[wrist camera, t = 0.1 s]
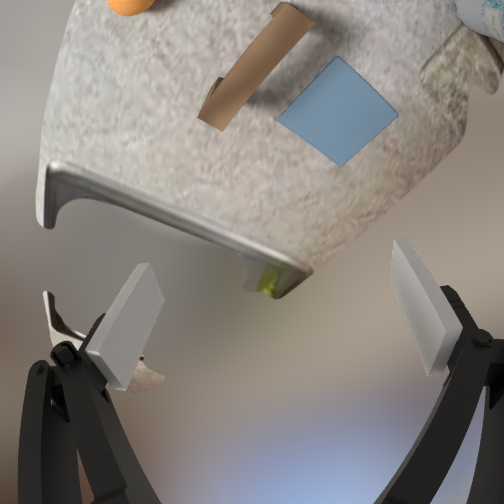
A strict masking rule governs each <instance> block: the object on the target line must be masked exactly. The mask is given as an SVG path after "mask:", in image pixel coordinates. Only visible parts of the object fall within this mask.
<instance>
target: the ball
mask: <svg viewBox="0 0 504 504" xmlns="http://www.w3.org/2000/svg"><path fill="white" fill-rule="evenodd" d="M154 1H155V0H108V3H109V6H110V8H111V9H112V10H113V11H114V12H116V13H117V14H120V15H124V16H133V15H137V14H140V13H142V12H144V11H145V10H147V9H148V8H149V7H150V6H151V5H152V4H153V3H154Z"/></svg>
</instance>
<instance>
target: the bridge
mask: <svg viewBox="0 0 504 504" xmlns="http://www.w3.org/2000/svg"><path fill="white" fill-rule="evenodd" d="M271 15H272V17H273V19H272V20H271V21H270V22H269V23H268V25H267V26H266V27H265V28H264V29H263V30H262V32H261V33H260V34H259V35H258V36H257V37H256V39H255V40H254V41H253V42H252V43H251V45H250V46H249V47H248V48H247V50H246V51H245V52H244V53H243V55H242V56H241V57H240V58H239V60H238V61H237V62H236V63H235V65H234V66H233V67H232V69H231V70H230V71H229V73H228V74H227V75H226V76H225V78H224V79H221V78H218V79H217V80H216V82H215V83H214V84H213V86H212V87H211V89H210V91H209V93H208V95H207V97H206V99H205V101H204V104H203V106H202V108H201V110H200V113H199V115H198V117H197V118H199V119H201V120H203V121H204V122H206V123H208V124H210V125H211V126H213V127H215V128H217V129H218V130H220V131H222V132H223V131H224V129H225V128H226V127H227V125H228V124H229V123H230V121H231V120H232V119H233V118H234V116H235V115H236V114H237V112H238V111H239V110H240V109H241V107H242V106H243V105H244V104H245V102H246V101H247V100H248V99H249V98H250V96H251V95H252V94H253V93H254V91H255V90H256V89H257V88H258V87H259V85H260V84H261V83H262V82H263V81H264V79H265V78H266V77H267V76H268V75H269V74H270V72H271V71H272V70H273V69H274V68H275V67H276V66H277V64H278V63H279V62H280V61H281V60H282V59H283V58H284V57H285V55H286V54H287V53H288V52H289V51H290V50H291V49H292V48H293V47H294V46H295V44H296V43H297V42H298V41H299V40H300V39H301V38H302V37H303V36H304V35H305V34H306V33H307V32H308V31H309V30H310V29H311V27H312V26H313V25H314V24H315V22H313V21H312V20H311V19H309V18H308V17H307V16H305V15H304V14H302V13H301V12H300V11H298V10H297V9H295V8H294V7H293V6H291V5H290V4H288V3H285V2H280V3H279V4H278V5H277V6H276V8H275V9H274V10H273V11H272V12H271Z"/></svg>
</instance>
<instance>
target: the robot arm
mask: <svg viewBox="0 0 504 504" xmlns="http://www.w3.org/2000/svg"><path fill="white" fill-rule="evenodd" d="M390 284H391V286H392V289H393V291H394V293H395V295H396V297H397V300H398V302H399V305H400V307H401V309H402V312H403V314H404V316H405V319H406V321H407V323H408V326H409V329H410V331H411V334H412V336H413V339H414V341H415V344H416V346H417V349H418V352H419V354H420V357H421V360H422V363H423V366H424V368H425V371H426V374H427V377H430V376H434V375H438V374H442V373H443V372H444V370H445V368H446V366H447V365H448V368H449V370H450V373H449V375H448V377H447V379H446V381H445V383H444V385H443V389H442V391H441V393H440V395H439V397H438V399H437V402H436V404H435V406H434V408H433V410H432V412H431V414H430V416H429V418H428V420H427V421H426V423H425V425H424V427H423V429H422V431H421V432H420V434H419V436H418V438H417V440H416V441H415V443H414V445H413V446H412V448H411V450H410V451H409V453H408V455H407V456H406V458H405V459H404V461H403V463H402V464H401V466H400V467H399V469H398V470H397V472H396V474H395V475H394V476H393V478H392V479H391V481H390V482H389V483H388V485H387V486H386V488H385V489H384V491H383V492H382V493H381V494H380V496H379V497H378V498H377V500H376V501H375V502H374V504H430V502H431V501H432V499H433V497H434V496H435V494H436V492H437V491H438V489H439V487H440V485H441V484H442V482H443V480H444V478H445V476H446V474H447V473H448V471H449V469H450V467H451V465H452V463H453V461H454V459H455V457H456V455H457V453H458V450H459V448H460V446H461V444H462V441H463V439H464V437H465V435H466V432H467V430H468V428H469V425H470V423H471V420H472V417H473V415H474V412H475V409H476V407H477V404H478V401H479V398H480V395H481V392H482V389H483V386H486V396H485V409H484V418H483V427H482V434H481V441H480V448H479V453H478V458H477V464H476V468H475V473H474V477H473V482H472V485H471V490H470V493H469V497H468V500H467V504H504V339H493V337H492V336H491V335H490V333H489V332H487V331H485V330H483V329H478V327H477V325H476V323H475V322H474V320H473V318H472V317H471V315H470V313H469V311H468V310H467V308H466V307H465V305H464V303H463V302H462V301H461V299H460V297H459V295H458V294H457V292H456V291H455V290H454V289H452V288H451V287H450V286H448V285H446V286H440V287H439V285H438V284H437V282H436V280H435V279H434V277H433V276H432V274H431V272H430V271H429V269H428V268H427V266H426V265H425V263H424V262H423V260H422V259H421V257H420V256H419V254H418V253H417V251H416V250H415V249H414V247H413V245H412V244H411V243H410V241H409V240H408V238H398V239H394V244H393V254H392V264H391V273H390ZM164 301H165V300H164V298H163V295H162V293H161V290H160V288H159V285H158V283H157V280H156V278H155V275H154V273H153V270H152V267H151V265H150V263H141V264H138V265H137V266H136V268H135V269H134V271H133V272H132V274H131V275H130V277H129V279H128V280H127V281H126V283H125V284H124V286H123V288H122V289H121V291H120V292H119V294H118V296H117V297H116V299H115V300H114V302H113V303H112V305H111V307H110V308H109V310H108V312H107V313H103V314H102V315H101V316H100V317H99V318H98V319H97V320H96V322H95V323H94V325H93V326H92V328H91V330H90V331H89V334H88V335H87V336H86V338H85V340H84V341H83V343H82V345H81V346H80V348H79V350H78V351H77V349H76V348H75V347H74V345H73V344H72V342H70V341H63V342H60V343H59V344H57V345H56V346H55V347H54V348H53V349H52V351H51V354H50V357H51V359H52V360H53V361H54V362H55V364H56V365H57V366H50V365H49V364H48V363H47V361H45V360H39V361H37V362H35V363H34V364H33V365H32V367H31V368H30V370H29V374H28V379H27V385H26V391H25V398H24V403H23V411H22V420H21V428H20V439H19V454H18V504H82V499H81V490H80V482H79V472H78V459H77V449H78V452H79V455H80V458H81V461H82V464H83V467H84V470H85V473H86V476H87V479H88V482H89V484H90V487H91V490H92V492H93V495H94V501H93V502H91V504H162V503H161V502H160V500H159V499H158V497H157V495H156V493H155V492H154V490H153V488H152V486H151V485H150V483H149V481H148V479H147V477H146V475H145V474H144V472H143V470H142V468H141V466H140V464H139V462H138V460H137V458H136V456H135V454H134V452H133V450H132V448H131V445H130V443H129V441H128V439H127V437H126V434H125V432H124V430H123V428H122V425H121V423H120V420H119V418H118V416H117V413H116V411H115V408H114V406H113V403H112V400H111V398H110V395H109V393H108V391H107V389H106V388H105V386H106V384H107V382H108V383H109V384H110V385H111V387H112V388H113V389H118V390H125V391H126V390H127V388H128V385H129V383H130V380H131V378H132V375H133V373H134V371H135V368H136V366H137V363H138V361H139V358H140V356H141V354H142V351H143V349H144V347H145V344H146V342H147V340H148V337H149V335H150V333H151V330H152V328H153V326H154V323H155V321H156V319H157V317H158V315H159V312H160V310H161V308H162V306H163V304H164ZM51 401H52V405H51Z"/></svg>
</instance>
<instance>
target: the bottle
mask: <svg viewBox="0 0 504 504" xmlns="http://www.w3.org/2000/svg"><path fill="white" fill-rule="evenodd" d="M454 3H455V4H456V7H457V10H456V11H455V13H456V16H457V17H458V18H459V19H460V20H461V21H462V22H463V23H464V25H465V26H466V27H467V28H469V29H470V30H472V31H474V32H477V33H480V34H482V35H486V36H489V37H492V38H495V39H496V40H499V41H501V42H503V43H504V0H454Z"/></svg>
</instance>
